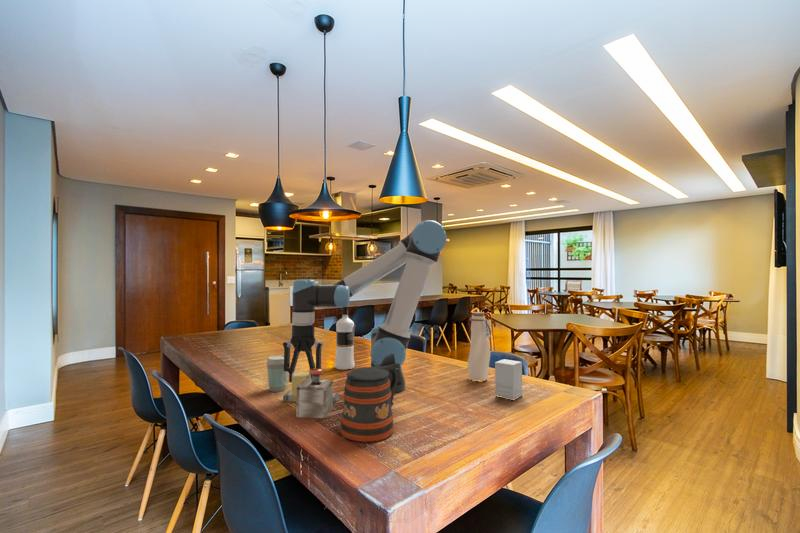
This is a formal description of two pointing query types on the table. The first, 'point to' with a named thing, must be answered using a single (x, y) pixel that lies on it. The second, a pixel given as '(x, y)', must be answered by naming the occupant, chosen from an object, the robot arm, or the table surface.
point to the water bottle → (479, 347)
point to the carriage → (297, 383)
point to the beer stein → (369, 402)
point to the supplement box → (508, 378)
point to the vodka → (344, 342)
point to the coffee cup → (276, 373)
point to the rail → (289, 397)
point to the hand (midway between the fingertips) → (302, 391)
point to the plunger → (315, 375)
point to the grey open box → (314, 399)
